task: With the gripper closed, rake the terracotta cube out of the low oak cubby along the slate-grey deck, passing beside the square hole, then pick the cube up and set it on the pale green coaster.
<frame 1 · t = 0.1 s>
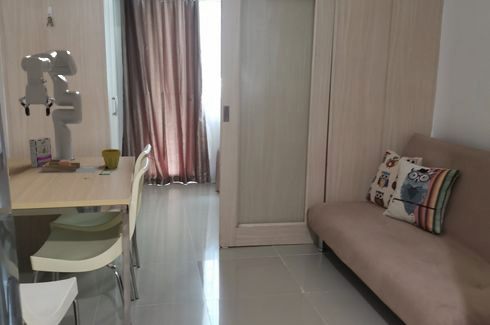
hand: (38, 115, 226), 31 cm above the table, tool pointing down, fingers open, 9 cm apart
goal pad: (104, 173, 237), on the table
plant pot: (111, 167, 254), on the table
cubby: (61, 171, 238), resting on deck
cube: (65, 169, 238), point 1 cm above the table, touching deck
candy bar box: (41, 167, 250), on the table
deck: (70, 171, 240), on the table
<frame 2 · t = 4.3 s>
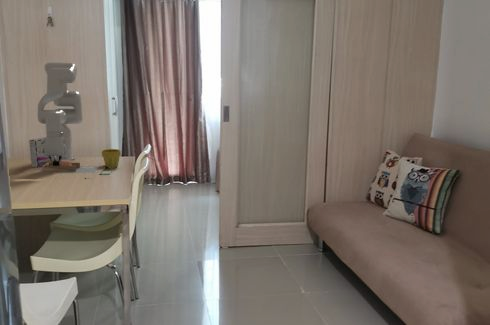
hand: (56, 168, 238), 2 cm above the table, tool pointing down, fingers closed
cube: (66, 169, 238), point 1 cm above the table, touching deck, gripper
everything else where it was.
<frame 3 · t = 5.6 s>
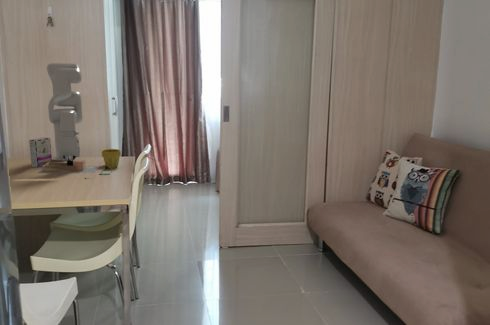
hand: (70, 167, 238), 2 cm above the table, tool pointing down, fingers closed
cube: (79, 169, 239), point 1 cm above the table, touching deck, gripper
everything else where it was.
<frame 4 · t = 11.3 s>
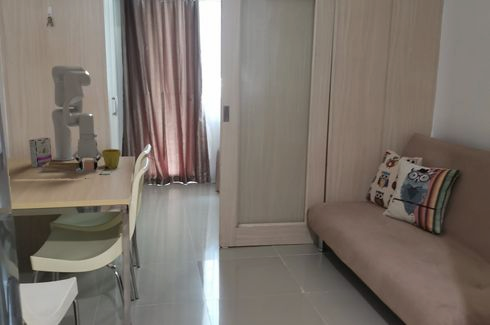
hand: (88, 168, 240), 1 cm above the table, tool pointing down, fingers open, 6 cm apart
cube: (89, 169, 239), point 1 cm above the table, touching deck, gripper
everything else where it was.
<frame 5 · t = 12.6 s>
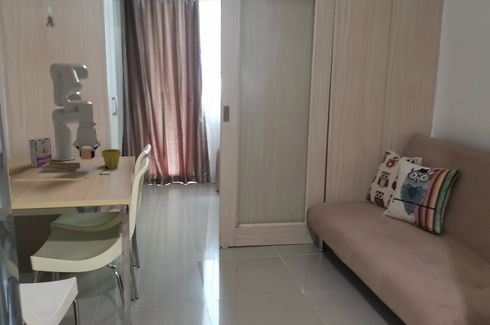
hand: (87, 157, 240), 8 cm above the table, tool pointing down, fingers closed on cube, 5 cm apart
cube: (87, 158, 239), point 7 cm above the table, touching gripper
everything else where it was.
when the fingers open (2 cm above the table, at t = 16.2 s): cube drops 1 cm, resting on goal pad.
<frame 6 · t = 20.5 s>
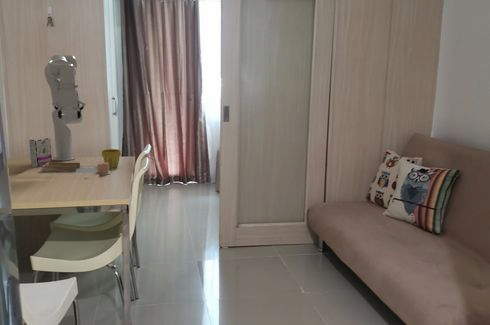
hand: (69, 118, 242), 28 cm above the table, tool pointing down, fingers open, 9 cm apart
cube: (103, 172, 236), point 1 cm above the table, touching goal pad
everything else where it was.
at the end: cube inside the target area on the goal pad (0.7 cm from its centre), point 0.6 cm above the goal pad's base; cube tilted 0°; the gripper is holding nothing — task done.
